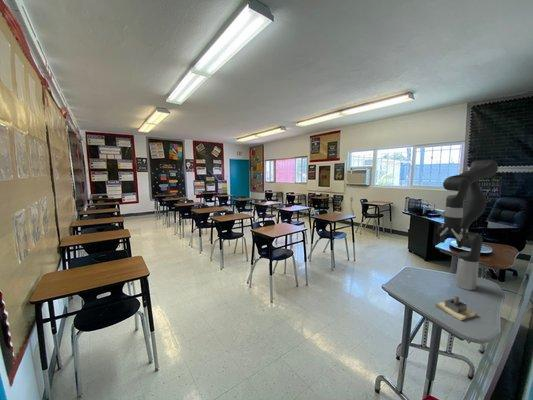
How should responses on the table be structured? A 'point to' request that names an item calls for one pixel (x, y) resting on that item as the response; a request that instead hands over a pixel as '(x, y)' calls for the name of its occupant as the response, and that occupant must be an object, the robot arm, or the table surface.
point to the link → (455, 306)
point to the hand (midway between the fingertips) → (450, 245)
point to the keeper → (460, 316)
